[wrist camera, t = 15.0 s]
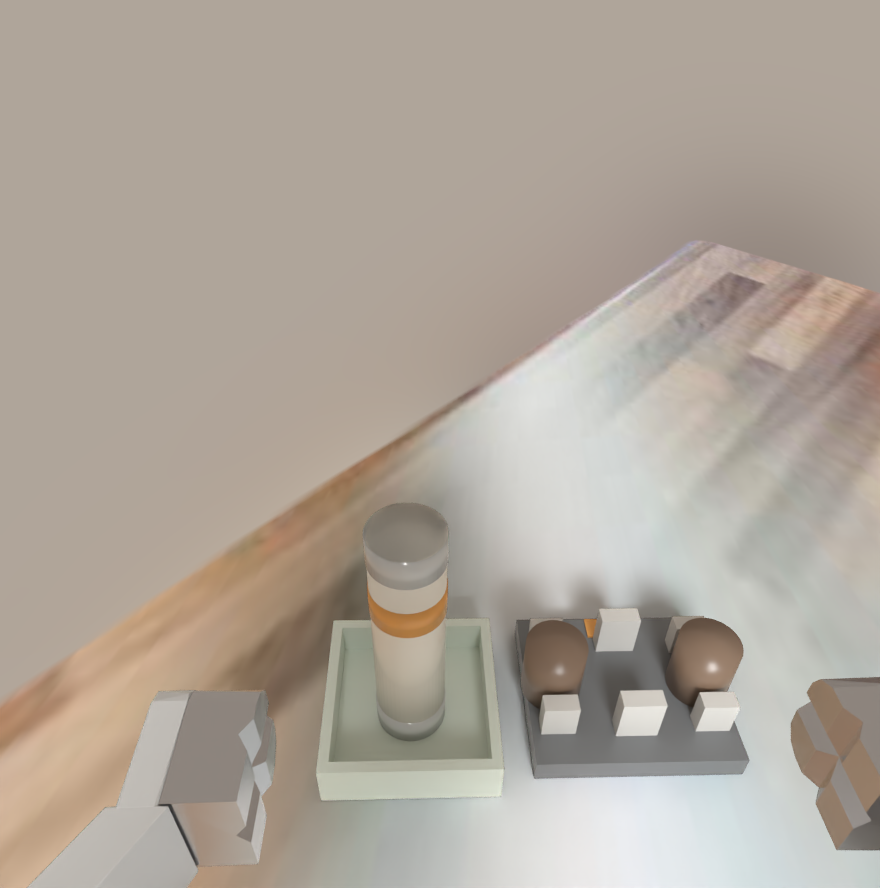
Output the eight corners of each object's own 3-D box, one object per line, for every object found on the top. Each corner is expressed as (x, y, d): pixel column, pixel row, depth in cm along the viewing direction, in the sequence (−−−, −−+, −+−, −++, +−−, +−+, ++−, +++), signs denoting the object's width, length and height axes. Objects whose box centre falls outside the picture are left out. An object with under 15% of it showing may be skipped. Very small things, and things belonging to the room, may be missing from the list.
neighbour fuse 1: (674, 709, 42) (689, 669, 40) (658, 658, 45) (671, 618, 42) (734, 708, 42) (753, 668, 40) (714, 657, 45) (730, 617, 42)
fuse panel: (534, 778, 40) (541, 735, 37) (515, 634, 48) (520, 590, 45) (742, 774, 40) (765, 731, 38) (688, 631, 48) (704, 587, 46)
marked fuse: (375, 742, 41) (359, 564, 32) (378, 680, 44) (365, 503, 35) (446, 740, 41) (450, 563, 32) (444, 679, 44) (447, 502, 35)
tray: (321, 800, 39) (315, 773, 37) (337, 649, 47) (333, 620, 45) (500, 796, 39) (504, 769, 37) (486, 646, 47) (489, 618, 45)
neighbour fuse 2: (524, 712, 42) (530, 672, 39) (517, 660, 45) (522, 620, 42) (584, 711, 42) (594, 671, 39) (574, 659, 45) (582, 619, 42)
